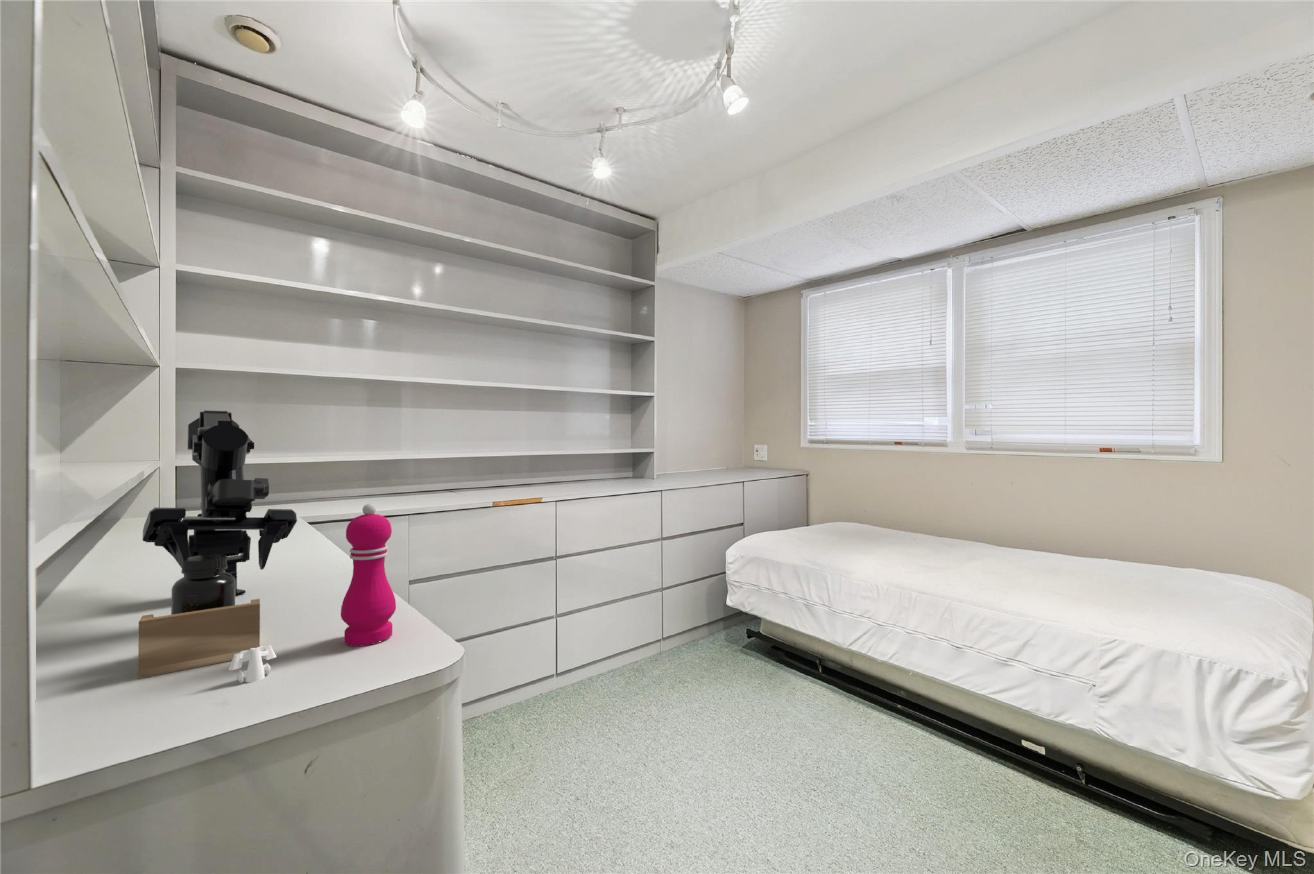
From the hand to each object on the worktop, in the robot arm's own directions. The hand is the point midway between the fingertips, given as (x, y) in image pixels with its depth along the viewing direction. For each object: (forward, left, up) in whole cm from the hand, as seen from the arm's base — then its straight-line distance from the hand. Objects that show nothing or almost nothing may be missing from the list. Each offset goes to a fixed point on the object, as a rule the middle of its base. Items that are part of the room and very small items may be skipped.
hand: (227, 570), depth 82 cm
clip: (+22, -9, -10) cm, 26 cm away
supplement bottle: (+6, -6, -8) cm, 12 cm away
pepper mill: (+23, +6, -10) cm, 26 cm away
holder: (+7, -6, -9) cm, 13 cm away
